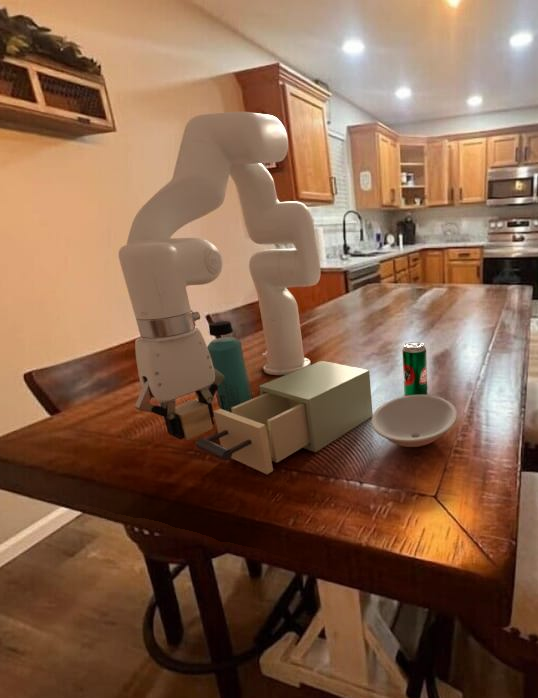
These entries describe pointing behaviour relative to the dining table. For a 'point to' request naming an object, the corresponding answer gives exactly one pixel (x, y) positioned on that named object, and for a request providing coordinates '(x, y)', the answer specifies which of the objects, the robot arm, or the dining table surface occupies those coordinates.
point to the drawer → (259, 431)
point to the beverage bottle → (229, 367)
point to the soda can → (414, 369)
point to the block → (194, 418)
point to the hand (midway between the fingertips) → (193, 428)
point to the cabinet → (327, 398)
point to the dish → (414, 419)
